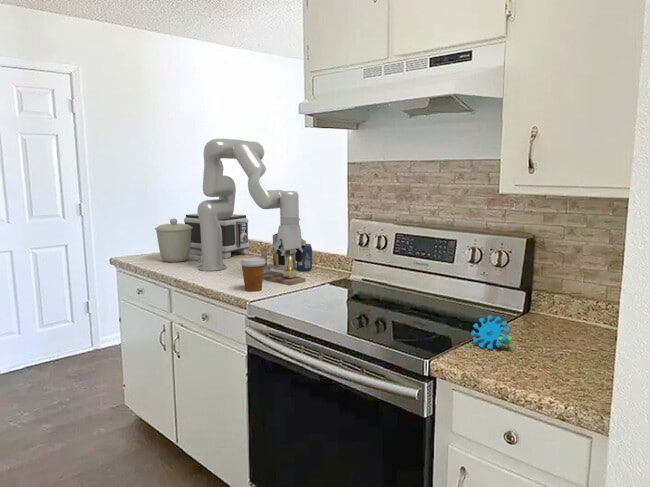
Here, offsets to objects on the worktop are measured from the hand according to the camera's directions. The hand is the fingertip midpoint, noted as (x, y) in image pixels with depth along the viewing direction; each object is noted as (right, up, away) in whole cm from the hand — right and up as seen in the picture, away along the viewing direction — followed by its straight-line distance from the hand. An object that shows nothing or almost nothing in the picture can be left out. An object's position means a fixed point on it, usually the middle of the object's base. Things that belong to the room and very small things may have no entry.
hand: (290, 263), depth 209 cm
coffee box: (-5, -4, +27) cm, 28 cm away
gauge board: (-6, -7, +6) cm, 11 cm away
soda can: (+5, -4, +23) cm, 24 cm away
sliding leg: (-1, -6, 0) cm, 6 cm away
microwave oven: (-42, +2, +64) cm, 77 cm away
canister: (-61, -1, +46) cm, 76 cm away
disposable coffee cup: (-13, -10, -12) cm, 21 cm away
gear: (+59, -20, -73) cm, 95 cm away
